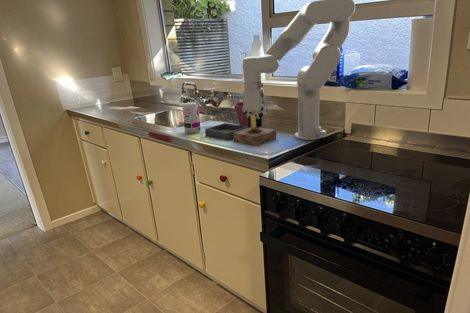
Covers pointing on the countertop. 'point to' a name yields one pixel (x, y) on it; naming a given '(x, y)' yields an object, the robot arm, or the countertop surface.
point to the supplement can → (191, 117)
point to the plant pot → (241, 114)
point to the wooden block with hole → (254, 136)
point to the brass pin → (254, 123)
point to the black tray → (223, 131)
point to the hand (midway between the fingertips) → (255, 125)
